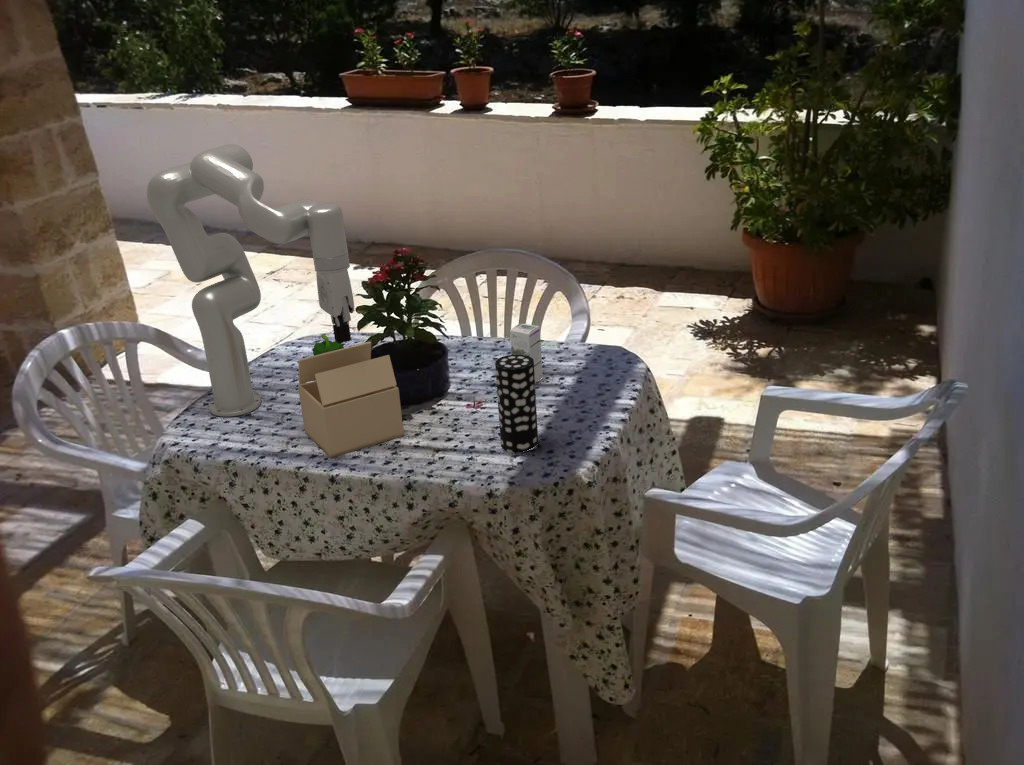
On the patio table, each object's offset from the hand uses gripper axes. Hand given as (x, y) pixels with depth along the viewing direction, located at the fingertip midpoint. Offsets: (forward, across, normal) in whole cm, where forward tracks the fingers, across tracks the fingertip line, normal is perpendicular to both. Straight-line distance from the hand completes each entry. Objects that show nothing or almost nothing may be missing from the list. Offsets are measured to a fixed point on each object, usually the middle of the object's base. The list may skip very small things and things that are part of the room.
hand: (343, 341), depth 233 cm
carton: (+23, -1, 0) cm, 23 cm away
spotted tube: (+24, +27, +28) cm, 46 cm away
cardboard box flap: (+8, +5, 0) cm, 9 cm away
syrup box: (+24, -2, +48) cm, 53 cm away
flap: (+7, -7, 0) cm, 10 cm away
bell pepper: (+23, -40, +10) cm, 47 cm away
